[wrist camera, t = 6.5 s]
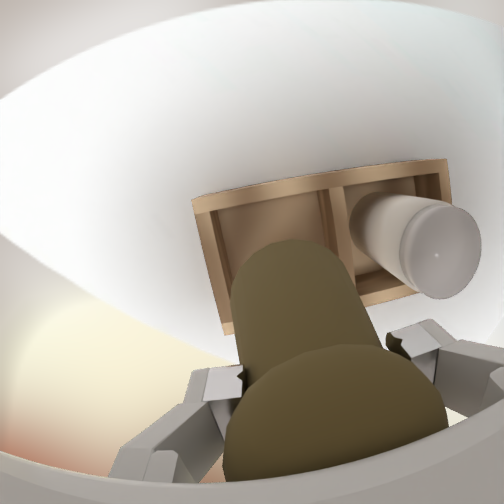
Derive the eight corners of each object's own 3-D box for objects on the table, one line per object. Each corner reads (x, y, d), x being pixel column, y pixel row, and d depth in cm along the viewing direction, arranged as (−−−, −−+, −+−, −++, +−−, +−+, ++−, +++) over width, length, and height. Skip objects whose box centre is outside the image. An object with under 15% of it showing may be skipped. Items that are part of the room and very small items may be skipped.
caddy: (416, 160, 24) (446, 158, 19) (425, 265, 26) (454, 282, 21) (202, 195, 25) (191, 199, 20) (229, 308, 27) (224, 335, 22)
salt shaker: (403, 187, 24) (481, 197, 14) (409, 250, 25) (481, 289, 15) (344, 196, 24) (404, 211, 14) (353, 262, 25) (409, 313, 15)
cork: (225, 242, 14) (156, 419, 3) (355, 236, 14) (531, 358, 3) (234, 356, 15) (216, 558, 5) (348, 348, 15) (432, 523, 5)
